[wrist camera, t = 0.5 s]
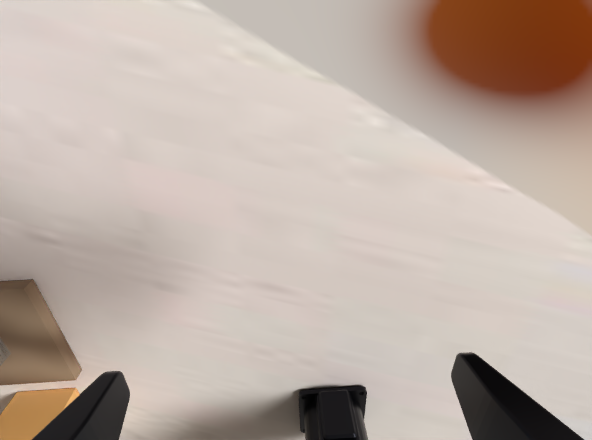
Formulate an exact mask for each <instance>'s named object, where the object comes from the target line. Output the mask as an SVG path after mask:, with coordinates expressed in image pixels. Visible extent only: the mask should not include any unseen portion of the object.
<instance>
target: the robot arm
mask: <svg viewBox="0 0 592 440" xmlns="http://www.w3.org/2000/svg"><path fill="white" fill-rule="evenodd" d="M451 378H452V382H453V385H454V388H455V391H456V394H457V397H458V400H459V402H460V405H461V408H462V411H463V414H464V417H465V420H466V423H467V426H468V428H469V431H470V434H471V437H472V439H473V440H584V439H583V438H581V437H580V436H579V435H578V434H576V433H575V432H574V431H573V430H571V429H570V428H569V427H568V426H566V425H565V424H564V423H562V422H561V421H560V420H559V419H557V418H556V417H555V416H554V415H552V414H551V413H550V412H549V411H547V410H546V409H545V408H543V407H542V406H541V405H540V404H538V403H537V402H536V401H535V400H533V399H532V398H531V397H530V396H528V395H527V394H526V393H525V392H523V391H522V390H521V389H519V388H518V387H517V386H516V385H514V384H513V383H512V382H511V381H509V380H508V379H507V378H506V377H504V376H503V375H502V374H500V373H499V372H498V371H497V370H495V369H494V368H493V367H492V366H490V365H489V364H488V363H487V362H485V361H484V360H483V359H482V358H480V357H479V356H478V355H476V354H474V353H471V352H469V353H459V354H458V355H457V356H456V359H455V362H454V366H453V369H452V372H451ZM366 396H367V391H366V388H365V387H363V386H357V387H343V388H329V389H315V390H303V391H300V392H299V410H300V429H301V432H303V433H305V438H306V440H368V437H367V432H366V428H365V424H364V414H365V405H366ZM129 398H130V391H129V388H128V385H127V383H126V380H125V378H124V375H123V373H122V372H120V371H111V372H105V373H103V374H101V375H100V376H99V377H98V378H97V379H96V380H95V381H94V382H93V383H92V384H91V385H90V386H88V387H87V388H86V389H85V390H84V391H83V392H82V393H81V394H80V395H79V396H78V397H77V398H76V399H75V400H73V401H72V402H71V403H70V404H69V405H68V406H67V407H66V408H65V409H64V410H63V411H62V412H61V413H59V414H58V415H57V416H56V417H55V418H54V419H53V420H52V421H51V422H50V423H49V424H48V425H47V426H46V427H44V428H43V429H42V430H41V431H40V432H39V433H38V434H37V435H36V436H35V437H34V438H33V439H32V440H119V437H120V433H121V429H122V425H123V422H124V418H125V414H126V410H127V406H128V403H129Z"/></svg>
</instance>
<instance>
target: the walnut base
mask: <svg viewBox="0 0 592 440" xmlns="http://www.w3.org/2000/svg"><path fill="white" fill-rule="evenodd" d="M0 338H1V339H2V341H3V342H4V344H5V345H6V347H7V348H8V350H9V351H10V353H11V354H10V355H9V356H8V358H7V359H6V360H5V361H4V362H3V363H2V365H1V366H0V385H12V384H26V383H41V382H56V381H70V380H76V379H77V377H78V376H79V374H80V372H81V371H82V369H81V367H80V365H79V363H78V361H77V359H76V358H75V356H74V354H73V352H72V350H71V348H70V347H69V345H68V343H67V341H66V339H65V337H64V335H63V334H62V332H61V330H60V328H59V326H58V324H57V323H56V321H55V319H54V317H53V315H52V313H51V311H50V310H49V308H48V306H47V304H46V302H45V300H44V299H43V297H42V295H41V293H40V291H39V289H38V287H37V286H36V284H35V282H34V280H16V281H0Z"/></svg>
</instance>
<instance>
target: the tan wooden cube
mask: <svg viewBox="0 0 592 440" xmlns="http://www.w3.org/2000/svg"><path fill="white" fill-rule="evenodd" d="M79 395H80V394H79V393H78V391H77V389H76V388H68V389H53V390H39V391H24V392H17V393H16V394H15V396H14V397H13V398H12V400H11V401H10V402H9V404H8V405H7V406H6V408H5V409H4V411H3V412H2V413H1V415H0V440H32V439H33V438H34V437H35V436H36V435H37V434H38V433H39V432H40V431H41V430H42V429H43V428H44V427H46V426H47V425H48V424H49V423H50V422H51V421H52V420H53V419H54V418H55V417H56V416H57V415H58V414H59V413H61V412H62V411H63V410H64V409H65V408H66V407H67V406H68V405H69V404H70V403H71V402H72V401H73V400H75V399H76V398H77V397H78V396H79Z"/></svg>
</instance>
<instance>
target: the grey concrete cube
mask: <svg viewBox="0 0 592 440" xmlns="http://www.w3.org/2000/svg"><path fill="white" fill-rule="evenodd" d="M10 354H11V353H10V351H9V350H8V348H7V347H6V345H5V344H4V342H3V341H2V339H1V338H0V366H1V365H2V363H3V362H4V361H5V360H6V359H7V358H8V356H9V355H10Z"/></svg>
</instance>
